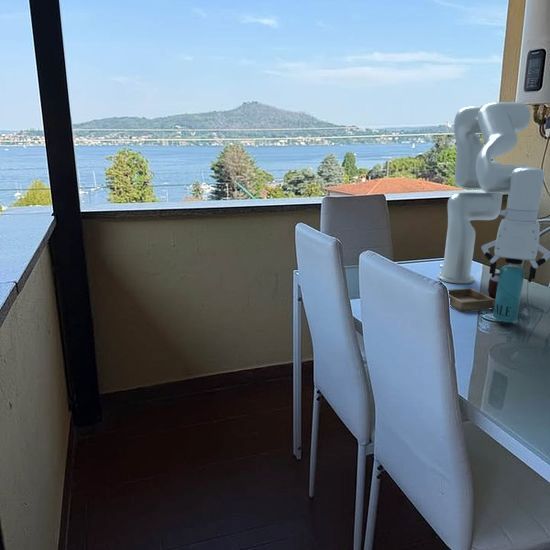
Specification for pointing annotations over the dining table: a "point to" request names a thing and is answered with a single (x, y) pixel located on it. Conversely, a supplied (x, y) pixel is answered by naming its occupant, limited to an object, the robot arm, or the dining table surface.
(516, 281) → the beverage bottle
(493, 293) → the mate gourd
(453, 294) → the tray
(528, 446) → the dining table surface
